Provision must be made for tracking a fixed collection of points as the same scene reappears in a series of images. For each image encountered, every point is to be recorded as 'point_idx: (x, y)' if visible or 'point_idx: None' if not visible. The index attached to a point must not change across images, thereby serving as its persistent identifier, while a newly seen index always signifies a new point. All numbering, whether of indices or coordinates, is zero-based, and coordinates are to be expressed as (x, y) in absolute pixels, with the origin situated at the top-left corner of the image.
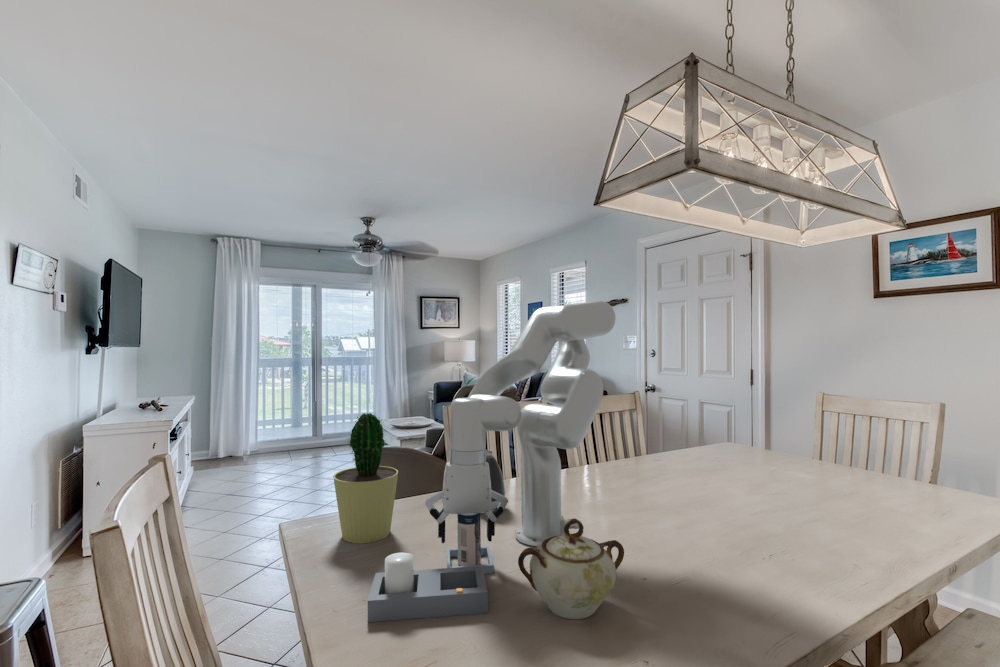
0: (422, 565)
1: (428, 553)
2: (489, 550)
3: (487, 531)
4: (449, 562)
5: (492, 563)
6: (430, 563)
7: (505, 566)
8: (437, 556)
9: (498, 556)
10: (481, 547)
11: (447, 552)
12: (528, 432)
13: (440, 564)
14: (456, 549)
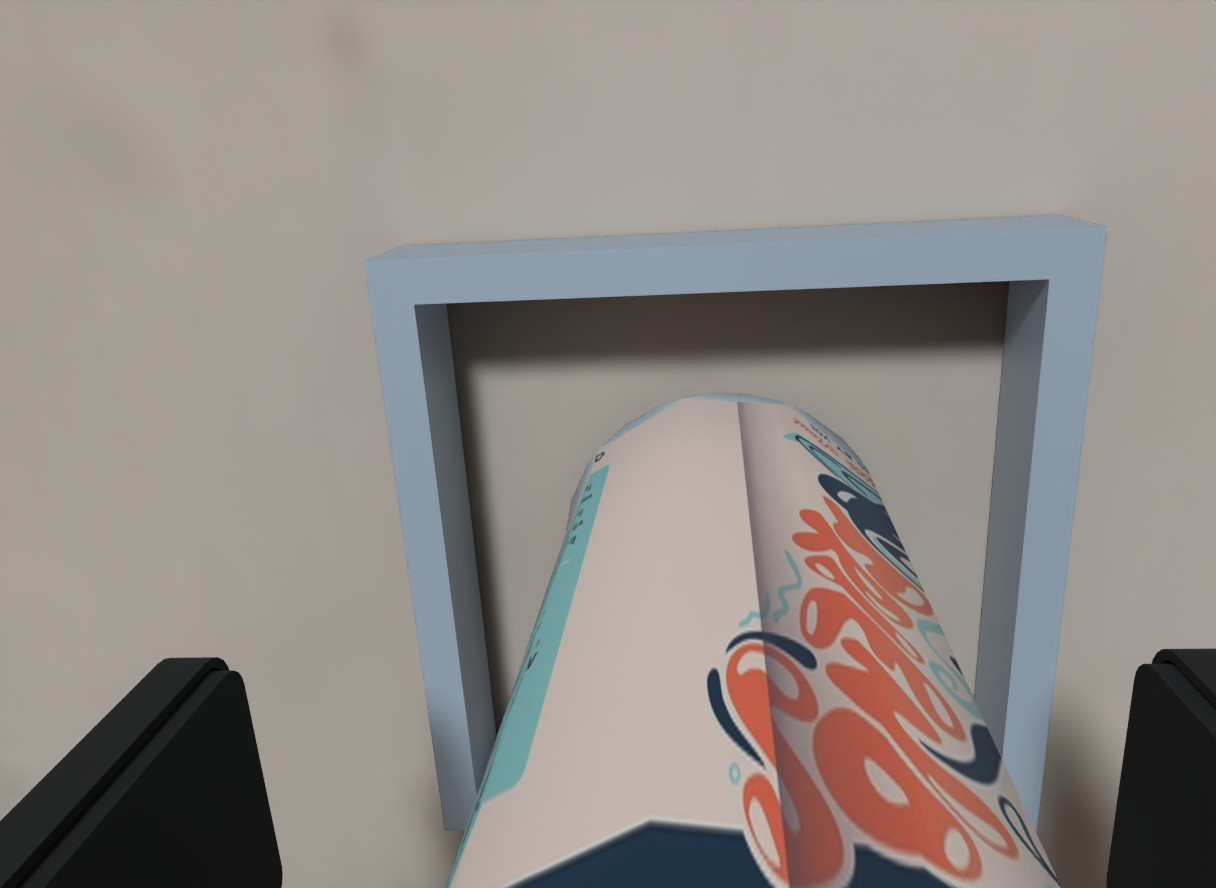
0: (130, 486)
1: (111, 113)
2: (1081, 392)
3: (1197, 866)
4: (453, 694)
5: (1032, 802)
6: (215, 444)
7: (1202, 646)
8: (265, 236)
9: (1191, 335)
10: (961, 253)
11: (389, 388)
12: None
13: (347, 487)
14: (522, 290)
